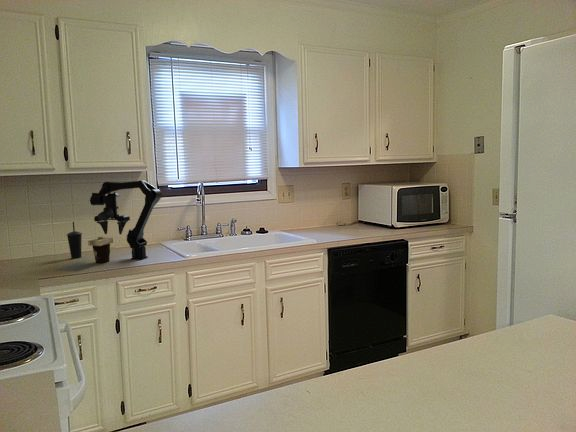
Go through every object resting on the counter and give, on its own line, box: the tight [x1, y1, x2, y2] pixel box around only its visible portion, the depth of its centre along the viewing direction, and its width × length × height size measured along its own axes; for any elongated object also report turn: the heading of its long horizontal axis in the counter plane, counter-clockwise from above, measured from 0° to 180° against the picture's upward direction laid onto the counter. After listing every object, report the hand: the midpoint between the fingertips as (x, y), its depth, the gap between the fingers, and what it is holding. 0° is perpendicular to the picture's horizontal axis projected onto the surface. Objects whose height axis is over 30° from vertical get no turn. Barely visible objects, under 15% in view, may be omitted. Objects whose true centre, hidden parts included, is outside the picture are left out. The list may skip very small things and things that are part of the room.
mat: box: [54, 262, 100, 272], centre depth 234 cm, size 14×16×1 cm
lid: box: [87, 236, 114, 247], centre depth 241 cm, size 7×10×4 cm
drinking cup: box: [66, 221, 83, 260], centre depth 256 cm, size 8×8×20 cm
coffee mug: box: [92, 243, 111, 264], centre depth 242 cm, size 12×9×10 cm
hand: (113, 234), depth 253 cm, fingers open, 9 cm apart
